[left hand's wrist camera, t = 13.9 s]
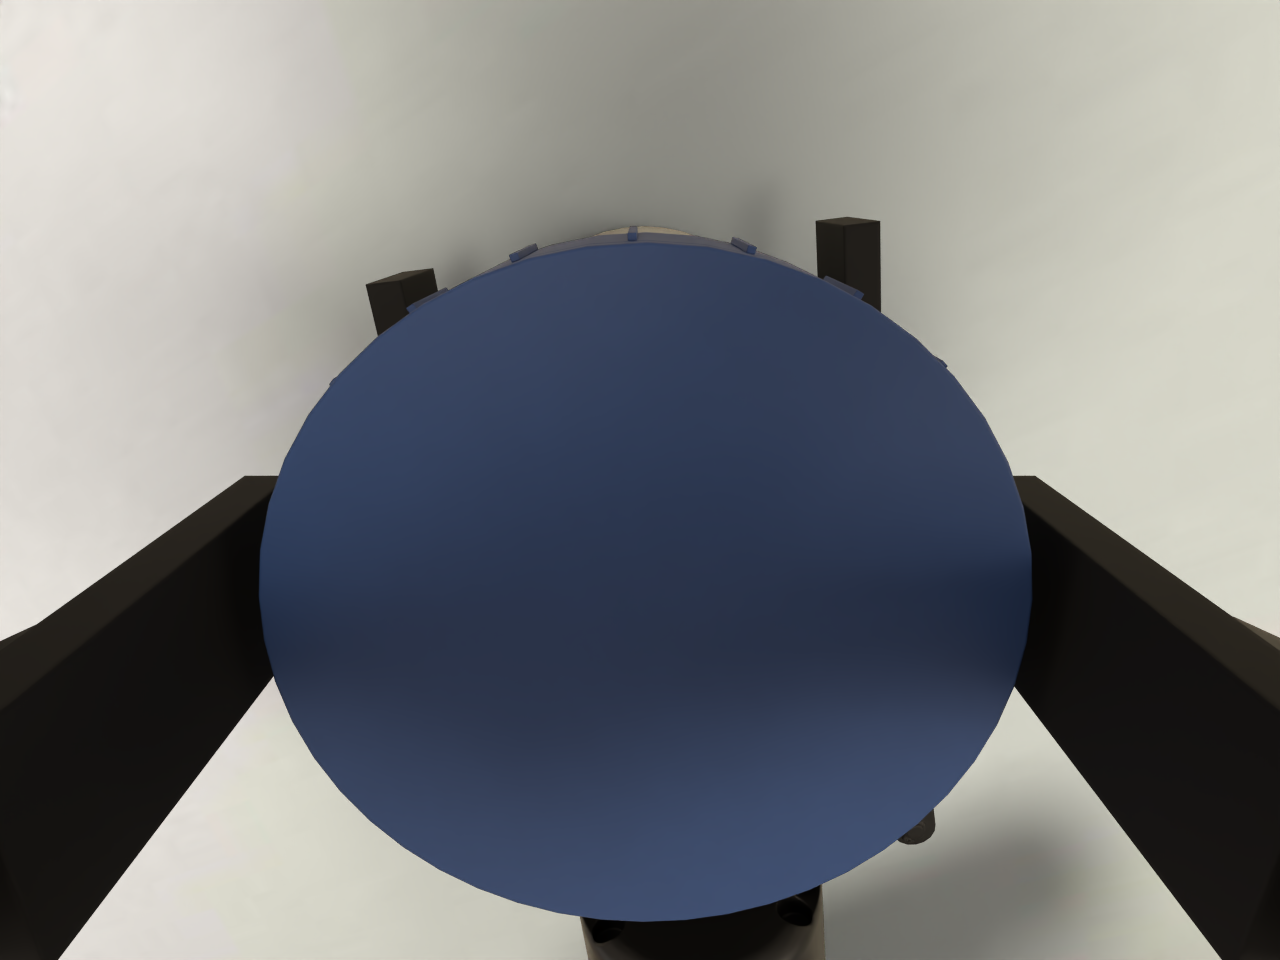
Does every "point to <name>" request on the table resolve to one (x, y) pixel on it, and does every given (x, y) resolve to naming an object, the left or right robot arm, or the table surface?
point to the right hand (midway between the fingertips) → (620, 248)
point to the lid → (645, 579)
